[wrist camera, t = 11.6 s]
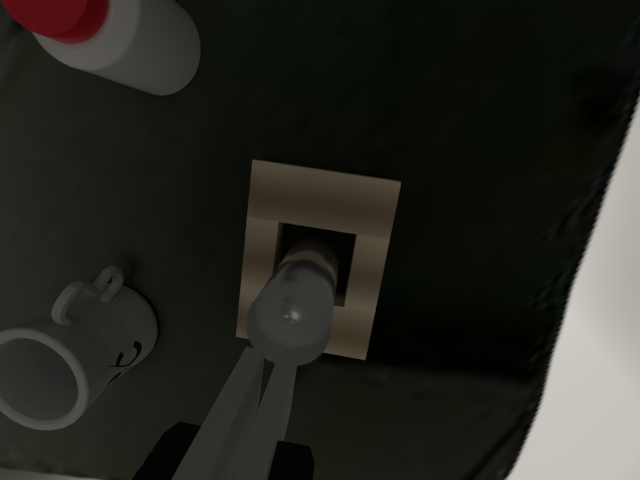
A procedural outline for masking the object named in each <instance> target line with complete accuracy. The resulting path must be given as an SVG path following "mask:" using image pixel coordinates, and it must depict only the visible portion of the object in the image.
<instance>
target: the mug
mask: <svg viewBox="0 0 640 480" xmlns="http://www.w3.org/2000/svg"><path fill="white" fill-rule="evenodd" d="M112 276H113V281H112V283H107V282H108V281H109V279H110V278H111V277H112ZM123 281H124V273H123V272H122V270H121V269H120V267H117V266H112V265H110V266H108V267H107V268H105V269H104V270H103V271H102V272H101V273H100V275H99V276H98V277H97V279H96V280H95V282H94V283H93V284H91V283H89V282H88V281H75V282H74V283H72V284H70V285H69V286H68V287H67V288H66V289H65V290H64V291H63V292H62V293H61V294H60V296H59V297H58V299H57V300H56V302H55V304H54V306H53V309H52V310H51V311H49V312H47V313H45V314H44V315H42V316H40V317H37V318H34V319H32V320H29V321H26V322H24V323H21V324H18V325H15V326H13V327H10V328H7V329H4V330H2V331H0V411H1V412H3V413H4V414H5V415H6V416H8V417H9V418H10V419H12V420H14V421H16V422H18V423H19V424H21V425H23V426H27V427H30V428H33V429H37V430H54V429H60V428H64V427H66V426H68V425H70V424H72V423H74V422H75V421H77V419H78V418H79V417H80V416H81V415H82V414H83V413H84V412H85V411H86V410H87V409H88V407H89V406H90V405H91V404H92V403H93V402H94V400H95V399H96V398H97V397H98V396H99V395H100V393H101V392H102V391H103V390H105V389H106V388H107V387H108V386H109V385H110V384H111V383H112V382H114V381H115V380H116V379H117V378H118V377H119V376H120V375H122V374H123V373H124V372H126V371H127V370H129V369H130V368H131V367H133V366H134V365H136V364H137V363H139V362H140V361H141V360H142V359H144V358H145V357H146V356H147V355H148V354H149V352H150V351H151V350H152V349H153V346H154V344H155V342H156V340H157V334H158V327H157V320H156V317H155V315H154V312H153V310H152V308H151V307H150V305H149V304H148V303H147V301H146V300H145V299H144V298H143V297H142V296H140V295H139V294H138V293H137V292H136V291H134V290H132V289H130V288H128V287H126V286H123V285H122V284H123ZM79 292H81V293H79ZM78 293H79V294H78ZM77 294H78V295H77Z"/></svg>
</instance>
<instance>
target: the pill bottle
mask: <svg viewBox="0 0 640 480" xmlns="http://www.w3.org/2000/svg"><path fill="white" fill-rule="evenodd" d="M1 1H2V3H3V5H4V7H5V8H6V9H7V11H8V12H9V14H10V15H11V16H12V17H13V18H14V19H15V20H16V21H17V22H18V23H20V24H21V25H22V26H24V27H25V28H26V29H28V30H31V32H32V33H33V35H34V36H35V38H36V39H37V41H38V42H39V44H40V45H41V46H42V47H43V48H44V49H45V50H46V51H47V52H48V53H49V54H51V55H52V56H53V57H55V58H56V59H57V60H59V61H60V62H62V63H64V64H66V65H68V66H70V67H72V68H75V69H78V70H81V71H84V72H87V73H90V74H93V75H96V76H99V77H102V78H104V79H107V80H110V81H113V82H116V83H119V84H122V85H125V86H128V87H131V88H134V89H137V90H140V91H143V92H146V93H149V94H153V95H169V94H173V93H175V92H178V91H180V90H181V89H183V88H184V87H185V86H187V84H188V83H189V82H190V81H191V80H192V78H193V77H194V75H195V73H196V71H197V68H198V65H199V62H200V55H201V43H200V38H199V33H198V31H197V28H196V25H195V23H194V21H193V20H192V18H191V16H190V15H189V14H188V13H187V11H186V10H185V9H184V8H183V7H182V6H181V5H180V4H179V3H178V2H177V1H176V0H1Z"/></svg>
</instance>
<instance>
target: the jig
mask: <svg viewBox="0 0 640 480" xmlns="http://www.w3.org/2000/svg"><path fill="white" fill-rule="evenodd" d="M400 186H401V182H399V181H397V180H392V179H385V178H378V177H372V176H365V175H359V174H352V173H345V172H339V171H332V170H325V169H319V168H312V167H306V166H299V165H292V164H286V163H279V162H273V161H266V160H252V170H251V181H250V192H249V203H248V213H247V224H246V235H245V246H244V256H243V267H242V278H241V289H240V299H239V310H238V321H237V332H236V337H242V338H247V339H249V337H248V335H247V331H246V317H247V313H248V310H249V308H250V306H251V304H252V303H253V302H254V300H255V299H256V297H257V296H258V294H259V293H260V291H261V290H262V289H263V287H264V286H265V284H266V283H267V281H268V280H269V279H270V277H271V276H272V274H273V273H274V271H275V270H276V269H277V267H278V266H279V264H280V258H281V249H282V241H283V233H284V225H285V223H290V224H296V225H302V226H308V227H314V228H321V229H327V230H333V231H339V232H345V233H352V234H355V238H354V244H353V250H352V255H351V261H350V267H349V273H348V278H347V284H346V290H345V294H342V293H336V294H335V303H334V312H333V321H332V330H331V337H330V340H329V343H328V345H327V347H326V349H325V350H324V351H323V352H324V353H330V354H335V355H341V356H346V357H352V358H357V359H363V360H365V359H366V354H367V349H368V344H369V339H370V334H371V329H372V325H373V320H374V315H375V310H376V305H377V300H378V295H379V290H380V285H381V280H382V275H383V270H384V265H385V260H386V255H387V250H388V245H389V240H390V235H391V230H392V225H393V221H394V216H395V211H396V206H397V201H398V196H399V191H400Z"/></svg>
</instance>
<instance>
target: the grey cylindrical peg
mask: <svg viewBox="0 0 640 480" xmlns="http://www.w3.org/2000/svg"><path fill="white" fill-rule="evenodd" d="M339 258H340V254H339V249H338V247H337V244H336V243H335V242H334V240H333V239H332V238H331V237H329V236H328V235H326V234H323V233H320V232H309V233H306V234H304V235H302V236H300V237H299V238H298V239H297V240H296V241H295V243H294V244H293V246H292V247H291V249H290V250H289V251H288V253H287V254H286V256H285V257H284V259H283V260H282V261H281V263H280V264H279V266H278V267H277V269H276V270H275V271H274V273H273V274H272V276H271V277H270V279H269V280H268V281H267V283H266V284H265V286H264V287H263V289H262V290H261V291H260V293H259V294H258V296H257V297H256V299H255V300H254V302H253V303H252V304H251V306H250V308H249V310H248V313H247V317H246V331H247V335H248V337H249V340H250V342H251V344H252V345H253V347H254V348H255V349H260V350H265V354H264V357H265V358H266V359H268V360H270V361H272V362H274V363H276V361H277V358H278V356H279V353H281V354H287V355H292V356H298V362H297V366H298V365H303V364H306V363H309V362H311V361H313V360H314V359H316V358H317V357H319V356H320V355H321V354H322V353H323V351H324V350H325V349H326V347H327V345H328V343H329V340H330V337H331V330H332V321H333V312H334V303H335V294H336V285H337V276H338V267H339Z"/></svg>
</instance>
